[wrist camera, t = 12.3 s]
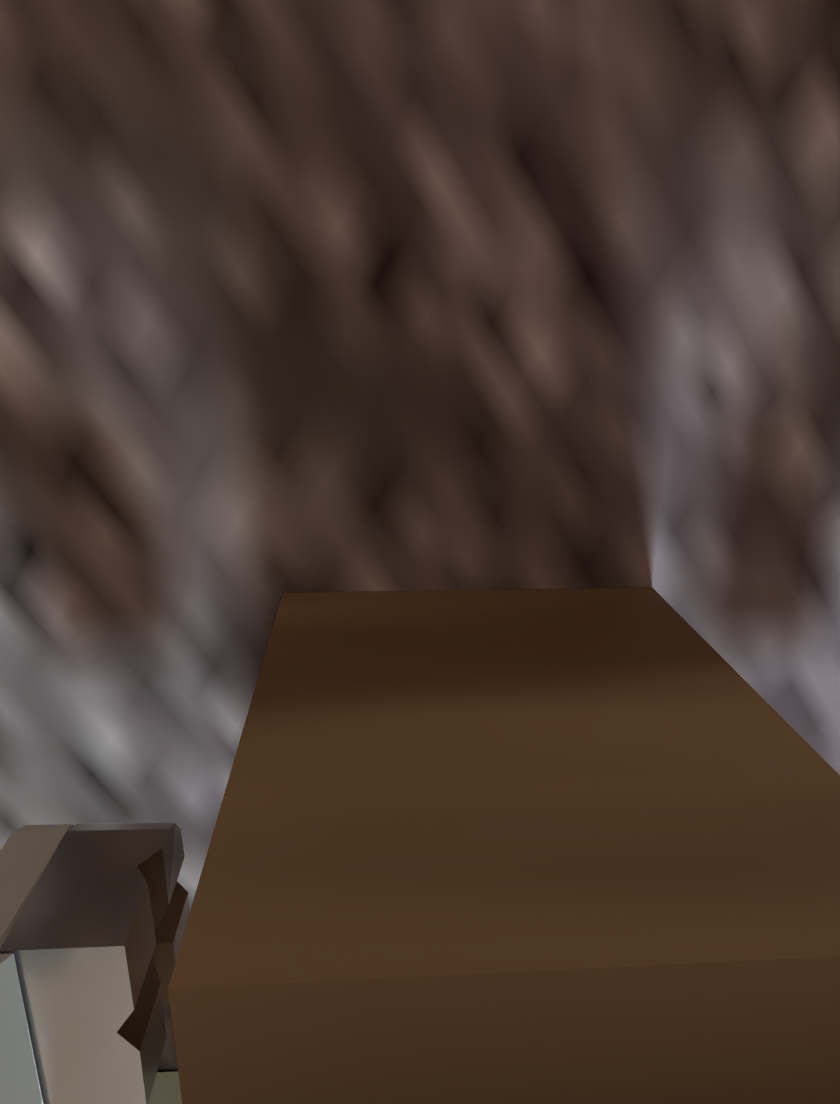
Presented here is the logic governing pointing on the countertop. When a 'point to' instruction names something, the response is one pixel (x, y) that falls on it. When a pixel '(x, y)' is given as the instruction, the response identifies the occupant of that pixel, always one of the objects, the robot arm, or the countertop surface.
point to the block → (512, 866)
